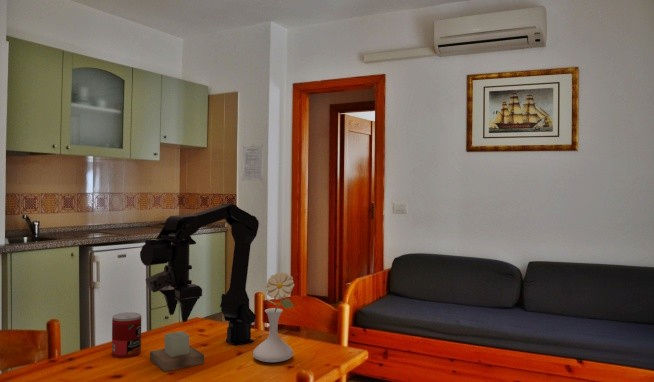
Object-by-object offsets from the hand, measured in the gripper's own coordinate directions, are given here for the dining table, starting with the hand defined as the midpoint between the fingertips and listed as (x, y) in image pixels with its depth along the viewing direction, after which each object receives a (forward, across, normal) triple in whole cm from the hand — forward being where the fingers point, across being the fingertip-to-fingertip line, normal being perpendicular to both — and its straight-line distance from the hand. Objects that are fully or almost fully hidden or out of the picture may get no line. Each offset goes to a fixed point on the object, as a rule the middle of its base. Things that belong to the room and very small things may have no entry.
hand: (177, 318), depth 142 cm
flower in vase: (+12, +15, +22) cm, 29 cm away
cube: (+9, +1, 0) cm, 9 cm away
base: (+12, +1, 0) cm, 12 cm away
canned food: (+12, -14, -9) cm, 21 cm away
